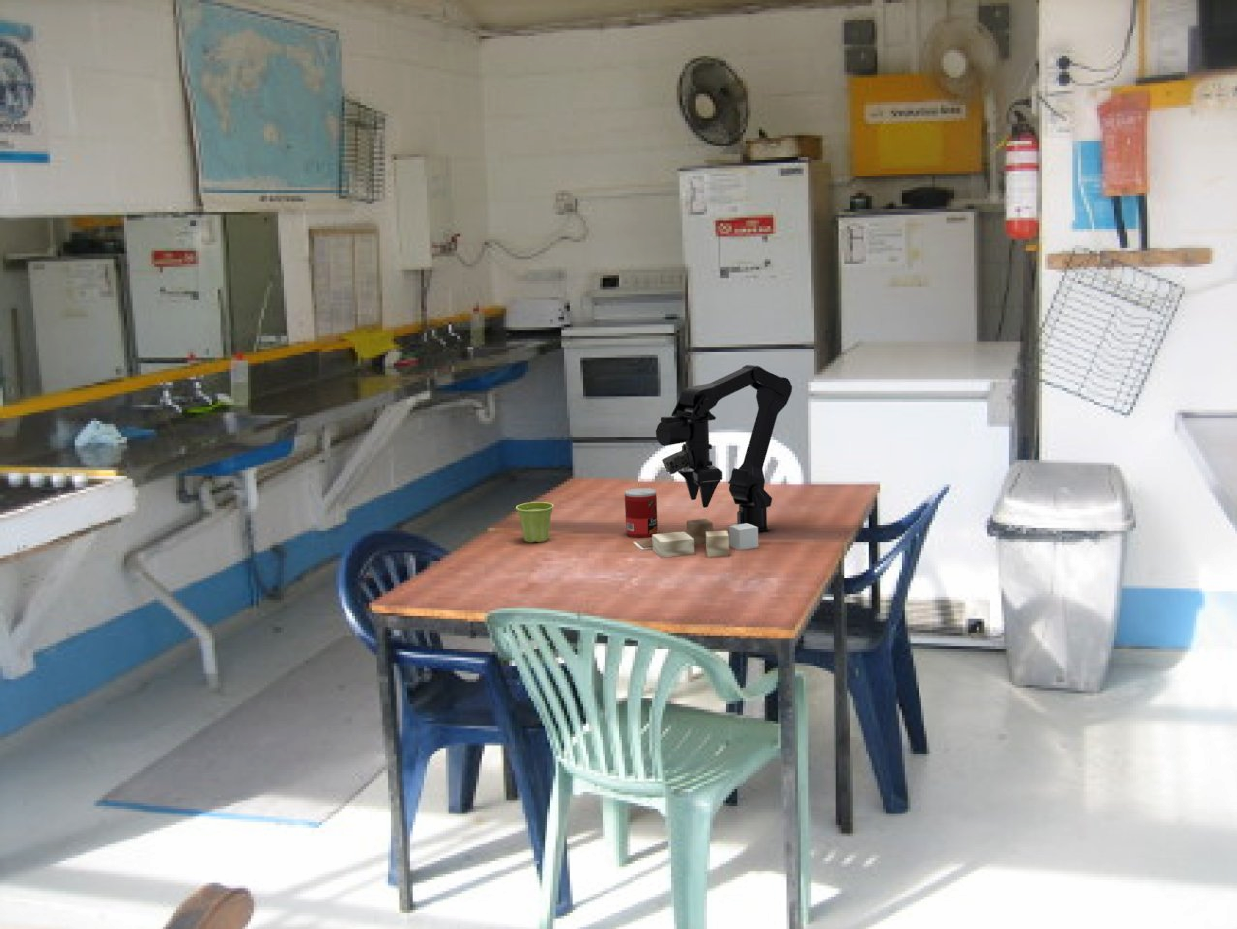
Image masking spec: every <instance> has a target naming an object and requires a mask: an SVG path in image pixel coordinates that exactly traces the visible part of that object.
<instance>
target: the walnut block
mask: <svg viewBox="0 0 1237 929" xmlns="http://www.w3.org/2000/svg"><path fill="white" fill-rule="evenodd" d="M713 528H714V523H713V522H712V521H710V520H709V519H707V518H701V519H700V518H699V519H690V520H689V519H688V520H686V533H687V534H688V535H690V536H691V537H692V538H693V539H694V546H695V545H697V546H698V545H706V531H714V529H713Z"/></svg>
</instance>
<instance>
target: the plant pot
mask: <svg viewBox="0 0 1237 929" xmlns="http://www.w3.org/2000/svg"><path fill="white" fill-rule="evenodd" d="M554 507H555V506H554V504H553V503H550V502H545V501H544V502H543V501H534V502H524V503H521V504H518V505H516V507H515V510H516V511H517V513H518V516H519V519H520V523H521V524H520V526H521V530H522V536H523V540H524V541H525V542H527V543H534V542H537V543H543V542H546V541H548V540H549V538H550V525H551V524H550V523H551V514H552V512H553V508H554Z"/></svg>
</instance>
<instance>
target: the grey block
mask: <svg viewBox="0 0 1237 929" xmlns="http://www.w3.org/2000/svg"><path fill="white" fill-rule="evenodd" d="M728 535H729V547H731V548H733V549H736V550H739V551H744V550H750V549H755V548H756V549H757V548H759V531H758V527H756V526H753V525H751V524H748V523H745V524H738V525H737V524H733V525H729V526H728Z"/></svg>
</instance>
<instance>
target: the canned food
mask: <svg viewBox="0 0 1237 929" xmlns="http://www.w3.org/2000/svg"><path fill="white" fill-rule="evenodd" d="M657 499H658V498H657V491H656V490H655V488H654V489H652V488H648V487H647V488H646V487H643V488H641V487H639V488H632V489H631V488H630V489H627V490H625V492H624V508H625V510H624V512H625V530H626V535H627V536H629V537H633V538H650V537H651V538H652V534H658V530H659V529H658V524H659V523H658V500H657Z"/></svg>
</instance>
